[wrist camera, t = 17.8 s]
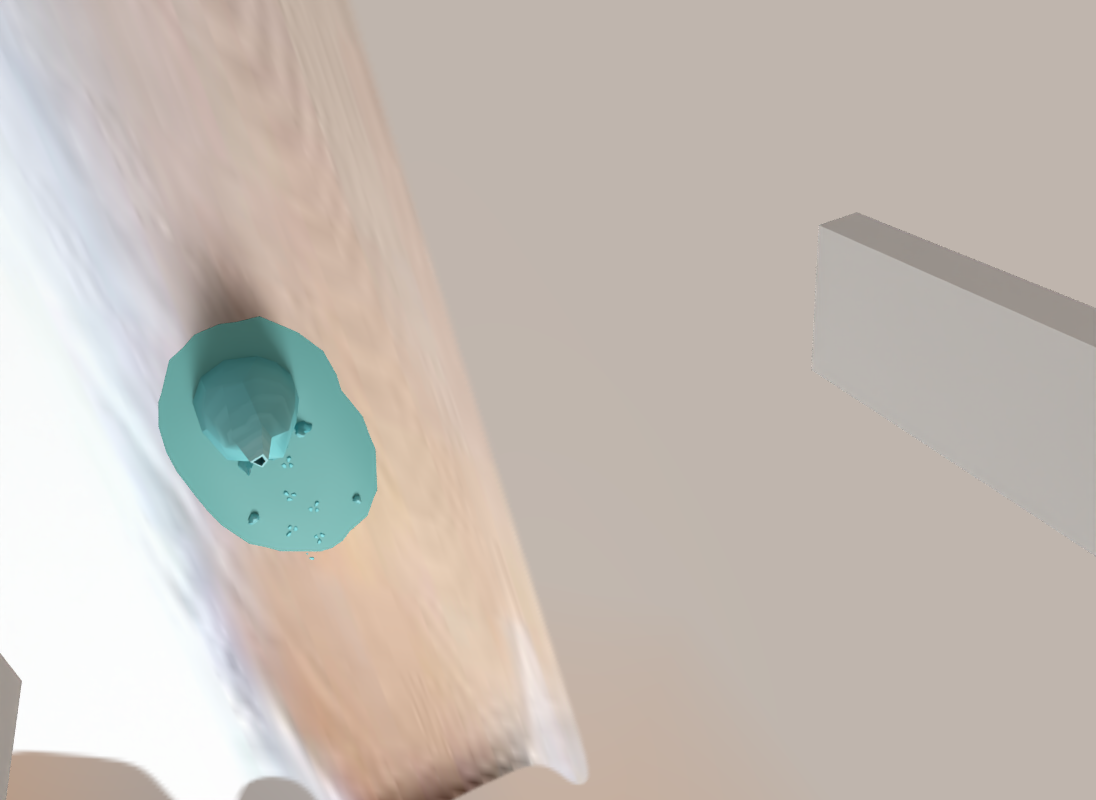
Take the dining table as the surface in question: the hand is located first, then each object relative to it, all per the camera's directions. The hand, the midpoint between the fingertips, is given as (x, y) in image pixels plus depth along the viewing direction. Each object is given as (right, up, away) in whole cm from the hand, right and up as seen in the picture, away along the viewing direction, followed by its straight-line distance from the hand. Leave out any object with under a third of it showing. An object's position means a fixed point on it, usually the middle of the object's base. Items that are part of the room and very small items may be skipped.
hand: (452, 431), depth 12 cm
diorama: (-15, -2, +38) cm, 41 cm away
